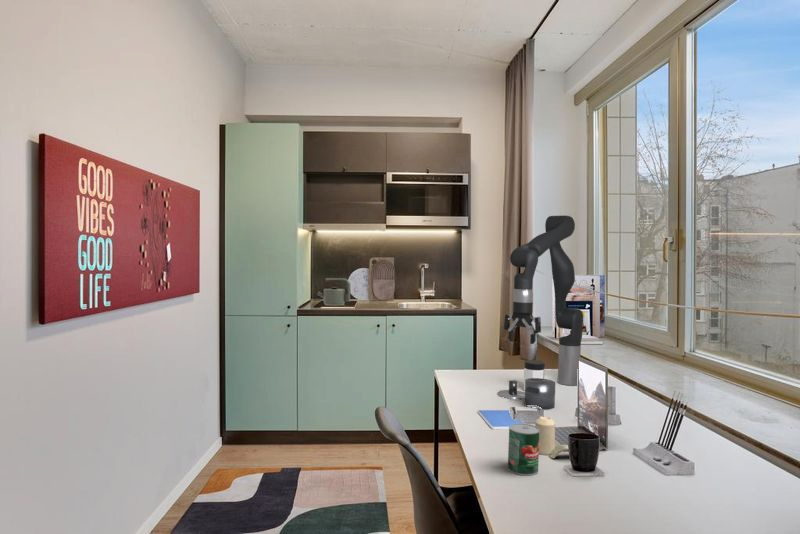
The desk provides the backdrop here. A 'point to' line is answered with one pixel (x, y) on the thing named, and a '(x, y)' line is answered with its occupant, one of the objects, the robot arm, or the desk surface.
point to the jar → (533, 370)
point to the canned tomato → (523, 449)
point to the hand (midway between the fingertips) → (521, 342)
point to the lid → (512, 392)
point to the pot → (540, 393)
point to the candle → (546, 435)
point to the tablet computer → (498, 418)
